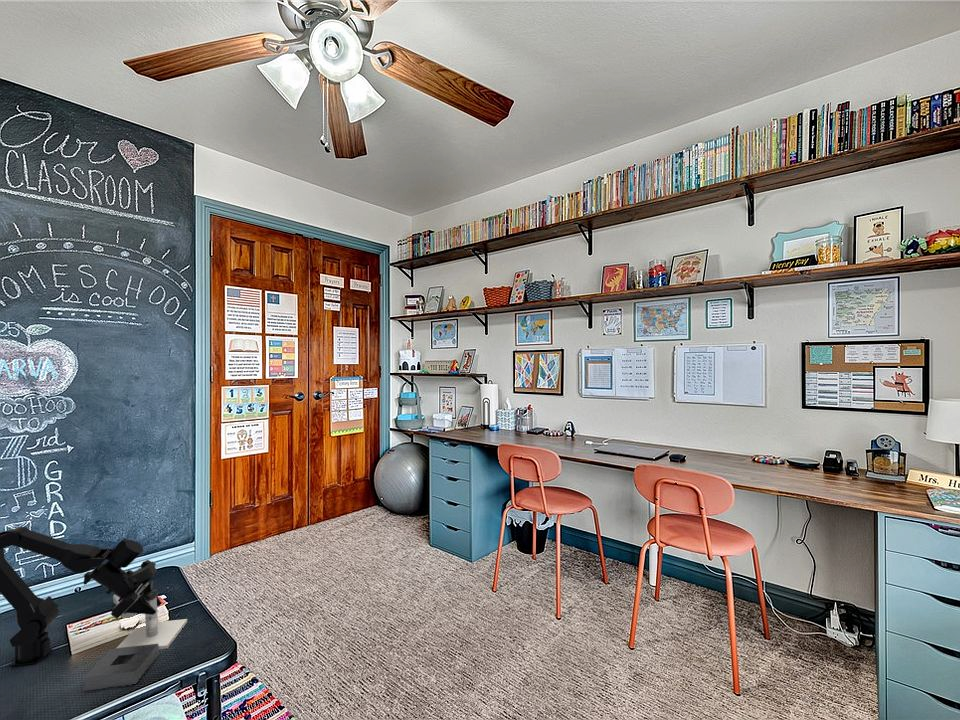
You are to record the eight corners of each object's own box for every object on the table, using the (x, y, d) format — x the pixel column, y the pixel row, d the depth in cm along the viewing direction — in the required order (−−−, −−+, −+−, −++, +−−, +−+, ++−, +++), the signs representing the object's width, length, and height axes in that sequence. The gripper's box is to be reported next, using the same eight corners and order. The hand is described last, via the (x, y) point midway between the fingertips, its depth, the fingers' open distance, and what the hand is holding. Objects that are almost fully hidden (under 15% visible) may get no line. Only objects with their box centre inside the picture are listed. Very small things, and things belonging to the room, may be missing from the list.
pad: (113, 654, 133) (113, 651, 132) (138, 627, 146) (138, 623, 146) (167, 648, 135) (167, 645, 135) (187, 622, 149) (187, 618, 149)
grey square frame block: (83, 691, 118) (83, 677, 118) (111, 661, 130) (111, 648, 130) (136, 684, 120) (136, 671, 120) (158, 655, 132) (158, 643, 132)
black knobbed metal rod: (145, 639, 138) (143, 596, 138) (144, 634, 141) (142, 592, 141) (160, 634, 141) (158, 592, 140) (158, 629, 143) (156, 587, 143)
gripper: (124, 570, 131) (169, 602, 134) (147, 545, 148) (187, 574, 152) (90, 603, 128) (138, 634, 132) (118, 573, 146) (159, 602, 149)
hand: (157, 608), depth 141 cm, fingers open, 5 cm apart
